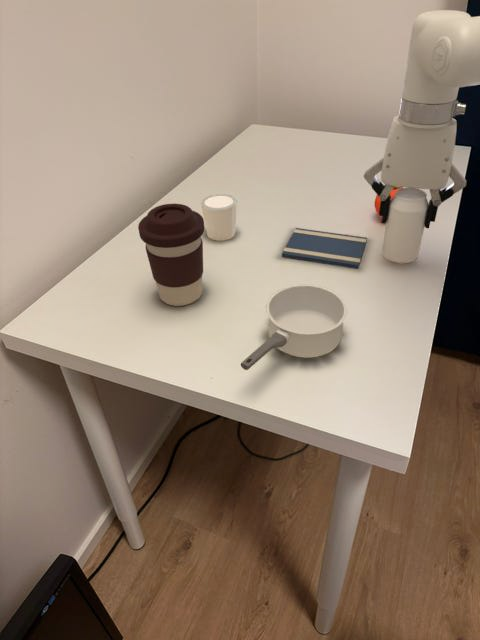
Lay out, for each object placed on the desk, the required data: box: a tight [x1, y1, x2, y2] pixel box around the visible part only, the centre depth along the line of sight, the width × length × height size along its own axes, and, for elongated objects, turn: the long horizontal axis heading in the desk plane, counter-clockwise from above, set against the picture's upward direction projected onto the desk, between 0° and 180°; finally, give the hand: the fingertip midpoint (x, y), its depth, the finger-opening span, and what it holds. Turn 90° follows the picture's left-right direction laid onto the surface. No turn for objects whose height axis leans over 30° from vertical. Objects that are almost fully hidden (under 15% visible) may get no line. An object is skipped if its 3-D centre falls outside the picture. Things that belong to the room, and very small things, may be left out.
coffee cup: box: [137, 203, 206, 307], centre depth 77 cm, size 10×10×15 cm
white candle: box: [200, 193, 238, 242], centre depth 95 cm, size 7×7×7 cm
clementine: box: [374, 186, 404, 218], centre depth 97 cm, size 8×7×7 cm
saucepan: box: [240, 283, 348, 371], centre depth 68 cm, size 12×20×6 cm, turn 141°
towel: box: [281, 227, 368, 270], centre depth 91 cm, size 14×10×1 cm
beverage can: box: [381, 187, 429, 265], centre depth 83 cm, size 6×6×12 cm
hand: (405, 221), depth 82 cm, fingers closed on beverage can, 6 cm apart
